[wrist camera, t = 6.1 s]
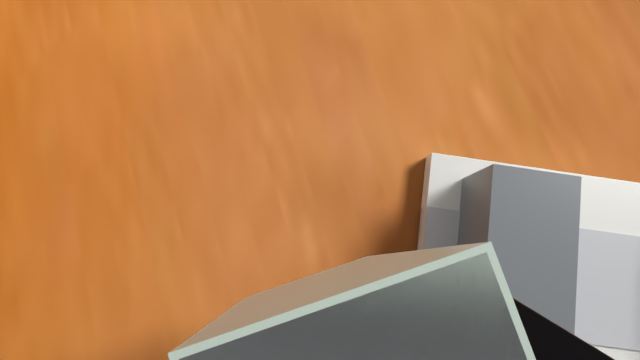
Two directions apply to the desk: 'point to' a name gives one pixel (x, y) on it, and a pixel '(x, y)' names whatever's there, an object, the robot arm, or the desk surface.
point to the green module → (376, 313)
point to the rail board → (547, 241)
